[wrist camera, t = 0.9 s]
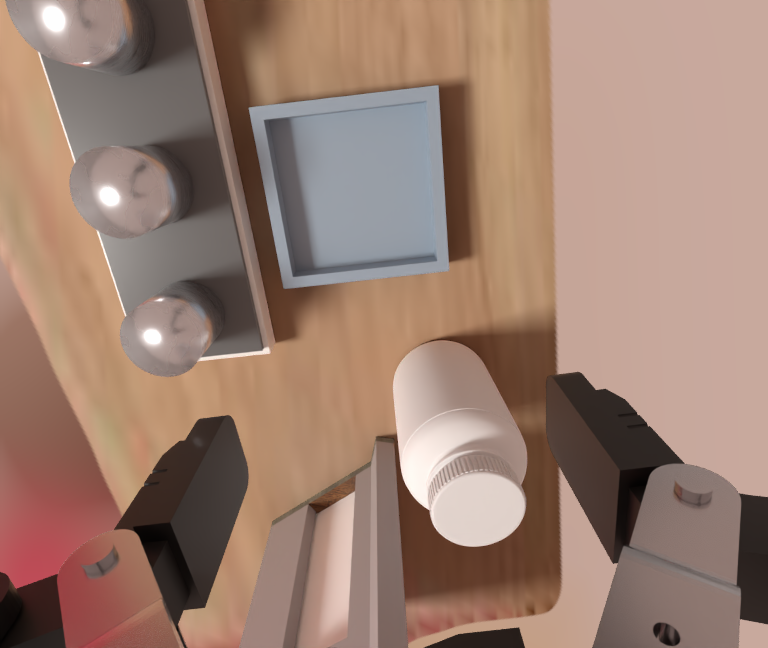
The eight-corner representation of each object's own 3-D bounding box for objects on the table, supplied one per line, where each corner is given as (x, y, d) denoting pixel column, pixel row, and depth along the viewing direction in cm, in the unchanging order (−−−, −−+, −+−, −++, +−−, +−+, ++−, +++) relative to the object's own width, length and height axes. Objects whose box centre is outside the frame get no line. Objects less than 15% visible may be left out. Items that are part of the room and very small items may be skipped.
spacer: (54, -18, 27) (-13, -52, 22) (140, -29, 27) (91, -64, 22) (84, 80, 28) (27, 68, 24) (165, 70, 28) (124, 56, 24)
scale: (10, -96, 27) (-65, -145, 23) (179, -118, 27) (138, -171, 22) (153, 356, 38) (122, 386, 33) (275, 342, 38) (261, 371, 33)
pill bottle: (501, 397, 40) (570, 534, 26) (417, 434, 41) (440, 584, 27) (464, 320, 37) (519, 427, 23) (375, 362, 39) (377, 488, 25)
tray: (256, 109, 32) (248, 107, 29) (434, 88, 31) (438, 85, 29) (288, 280, 36) (283, 289, 34) (444, 263, 36) (449, 271, 34)
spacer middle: (105, 150, 30) (56, 151, 25) (182, 141, 30) (147, 140, 25) (129, 228, 32) (87, 243, 27) (202, 220, 32) (172, 233, 27)
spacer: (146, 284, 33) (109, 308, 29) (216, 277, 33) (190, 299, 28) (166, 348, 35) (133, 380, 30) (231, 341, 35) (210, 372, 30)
